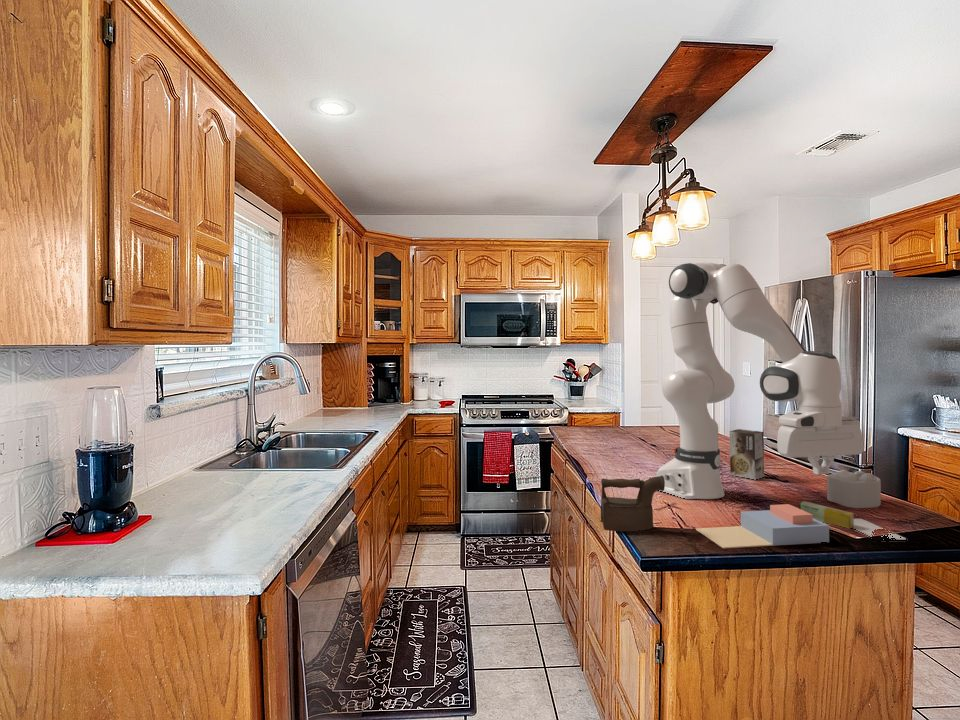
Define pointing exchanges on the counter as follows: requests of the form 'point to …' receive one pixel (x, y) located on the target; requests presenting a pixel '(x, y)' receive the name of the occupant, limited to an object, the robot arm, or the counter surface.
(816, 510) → the medication box
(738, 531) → the mat
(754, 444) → the coffee box
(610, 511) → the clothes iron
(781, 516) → the salmon pink block
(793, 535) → the grey flat block
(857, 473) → the lumpy-topped squat cylinder
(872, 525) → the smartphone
